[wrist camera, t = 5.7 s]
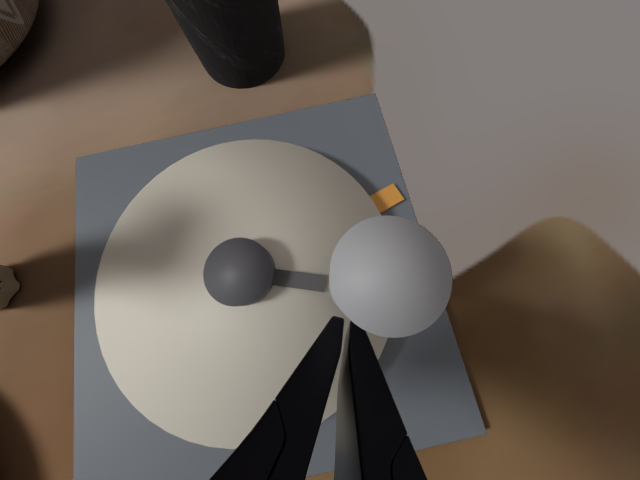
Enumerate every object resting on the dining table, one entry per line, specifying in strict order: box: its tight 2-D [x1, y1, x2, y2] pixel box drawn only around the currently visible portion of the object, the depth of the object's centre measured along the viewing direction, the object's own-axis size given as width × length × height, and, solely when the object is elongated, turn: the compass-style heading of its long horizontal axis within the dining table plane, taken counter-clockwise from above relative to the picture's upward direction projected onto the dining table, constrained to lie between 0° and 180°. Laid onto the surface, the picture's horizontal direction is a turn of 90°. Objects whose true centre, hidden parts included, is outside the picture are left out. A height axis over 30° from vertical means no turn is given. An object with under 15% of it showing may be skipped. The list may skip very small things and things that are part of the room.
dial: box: [94, 139, 452, 449], centre depth 12 cm, size 19×19×10 cm
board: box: [73, 94, 487, 480], centre depth 17 cm, size 24×24×1 cm
